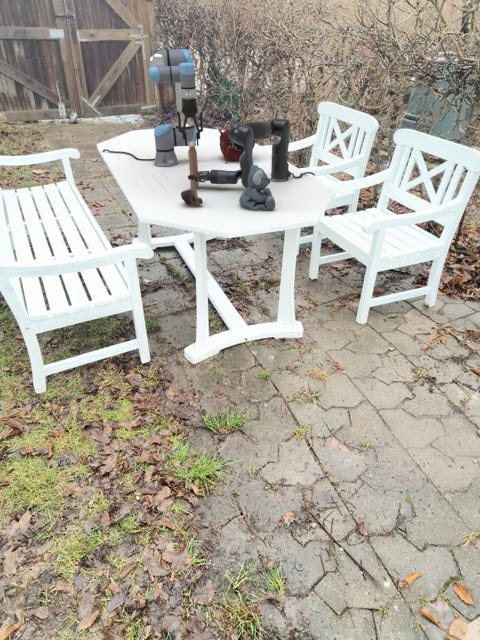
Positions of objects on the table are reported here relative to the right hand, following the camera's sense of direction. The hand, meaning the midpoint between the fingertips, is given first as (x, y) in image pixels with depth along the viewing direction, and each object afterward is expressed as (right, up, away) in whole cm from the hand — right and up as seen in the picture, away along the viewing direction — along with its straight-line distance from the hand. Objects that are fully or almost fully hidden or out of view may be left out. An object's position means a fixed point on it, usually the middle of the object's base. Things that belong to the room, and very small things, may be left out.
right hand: (189, 175), depth 250 cm
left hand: (+3, +13, -10) cm, 17 cm away
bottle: (+3, -6, +3) cm, 7 cm away
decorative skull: (+26, +29, +53) cm, 66 cm away
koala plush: (+37, -22, -21) cm, 48 cm away
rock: (+3, -21, -19) cm, 28 cm away
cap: (+2, +14, -10) cm, 18 cm away
